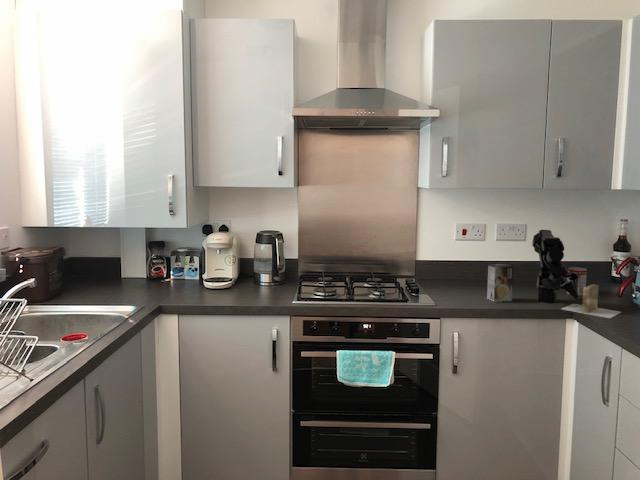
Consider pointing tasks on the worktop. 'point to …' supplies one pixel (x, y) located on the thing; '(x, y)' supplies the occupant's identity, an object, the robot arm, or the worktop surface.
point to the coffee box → (500, 282)
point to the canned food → (581, 280)
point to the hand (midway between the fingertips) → (577, 298)
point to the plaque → (590, 298)
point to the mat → (595, 312)
